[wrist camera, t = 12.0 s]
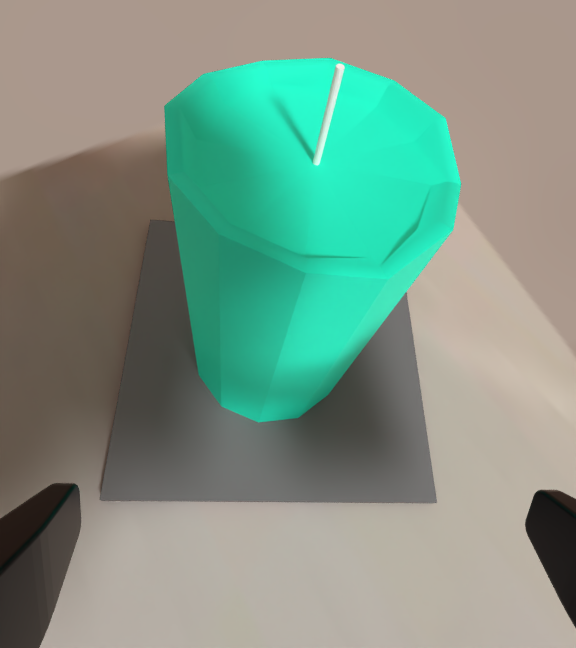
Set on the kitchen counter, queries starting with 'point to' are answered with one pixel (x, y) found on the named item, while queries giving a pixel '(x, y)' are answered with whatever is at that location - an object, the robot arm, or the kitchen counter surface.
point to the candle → (300, 221)
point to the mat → (264, 437)
